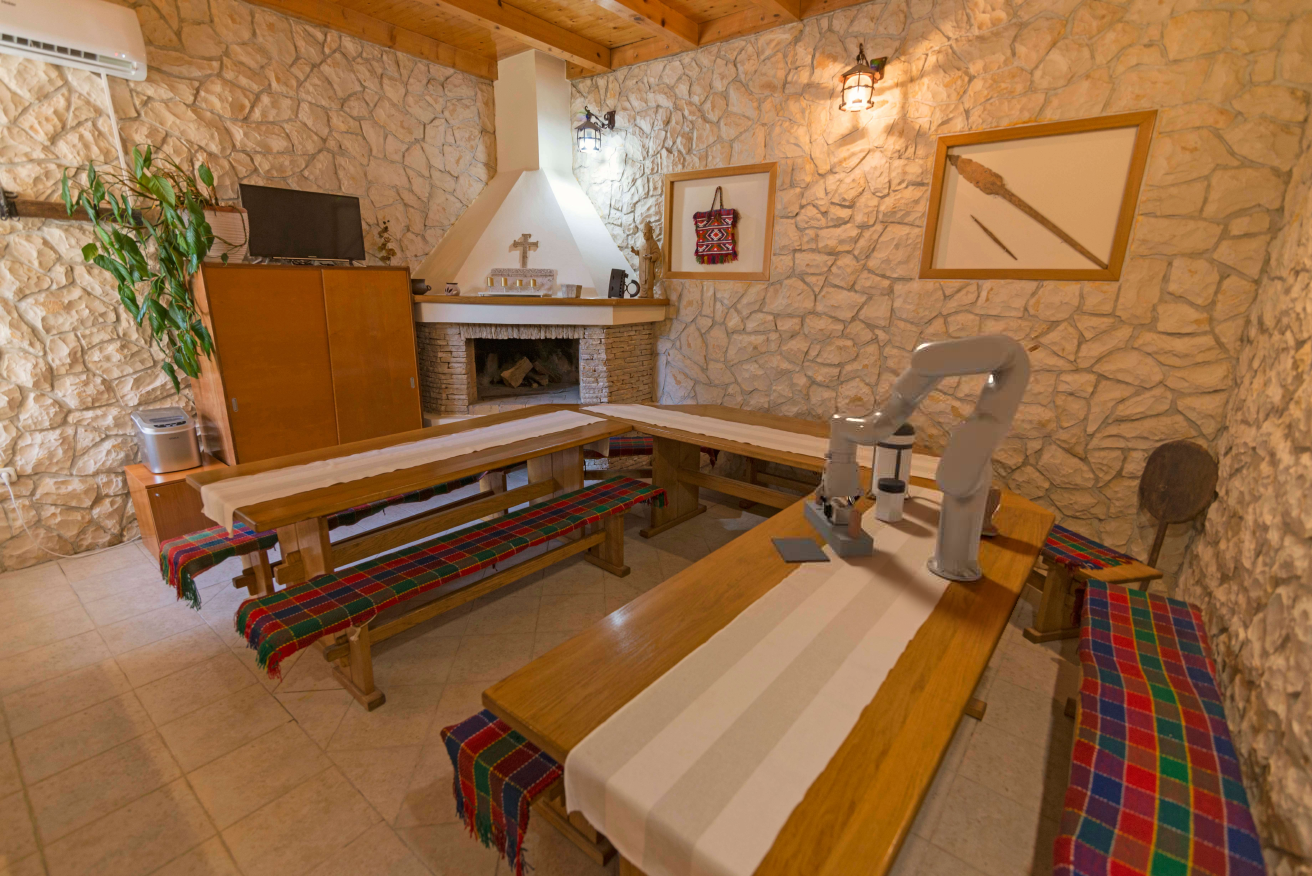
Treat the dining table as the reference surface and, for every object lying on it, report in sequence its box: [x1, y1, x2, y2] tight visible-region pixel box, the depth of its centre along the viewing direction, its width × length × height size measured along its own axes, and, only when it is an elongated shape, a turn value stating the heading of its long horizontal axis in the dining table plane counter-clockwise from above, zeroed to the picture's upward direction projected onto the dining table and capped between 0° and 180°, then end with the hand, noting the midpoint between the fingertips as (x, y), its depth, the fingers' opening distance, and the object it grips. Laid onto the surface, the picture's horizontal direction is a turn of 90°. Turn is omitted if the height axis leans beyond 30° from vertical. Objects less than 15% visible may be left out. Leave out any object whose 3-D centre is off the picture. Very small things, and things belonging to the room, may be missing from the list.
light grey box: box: [822, 497, 856, 524], centre depth 165 cm, size 10×6×5 cm, turn 4°
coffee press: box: [865, 421, 917, 501], centre depth 194 cm, size 17×16×30 cm
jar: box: [874, 478, 906, 523], centre depth 179 cm, size 9×8×12 cm
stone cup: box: [981, 484, 1002, 537], centre depth 169 cm, size 15×12×15 cm
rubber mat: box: [770, 536, 831, 563], centre depth 156 cm, size 14×12×1 cm
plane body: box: [803, 492, 875, 558], centre depth 165 cm, size 30×9×12 cm, turn 4°
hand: (837, 515), depth 165 cm, fingers closed on light grey box, 5 cm apart
